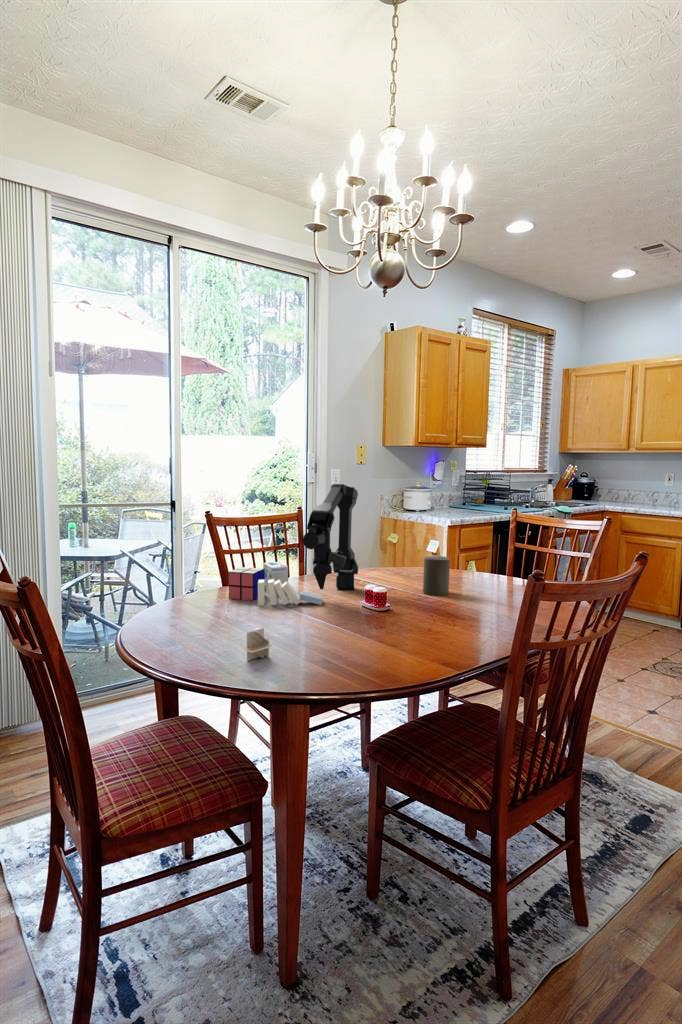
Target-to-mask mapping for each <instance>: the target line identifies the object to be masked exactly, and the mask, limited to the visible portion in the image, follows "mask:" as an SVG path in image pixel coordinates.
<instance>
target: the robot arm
mask: <svg viewBox="0 0 682 1024" xmlns="http://www.w3.org/2000/svg"><path fill="white" fill-rule="evenodd" d="M358 495H359V494H358V490H357V489H356V488H355V487H354V486H349V485H346V484H344V483H334V484H331V486H330V490H329V491H328V493H327V495H326V497H325V498H324V500H323V502H322V503H321V504H319V505H316V506H315V507H314V508H313V509H312V511H311V512H310V515H309V517H308V518H309V519H308V522H307V526H306V530H308V531H307V532H306V533H305V534H304V535H303V538H302V544H303V546H304V547H305V548H306V549H307V550H313V558H312V572H313V573H312V574H314V577H315V580H316V583H317V584H318V587H319V590H324V589H325V583H326V579H327V575H331V574H332V573H334V574H337V575H336V576H335V579H336V580H335V587H336V588H337V590H338V591H354V590H355V589H356V588H355V575H358V574H359V565H358V563H357V559H356V556H355V555H356V554H355V552H354V551H353V548H352V544H351V543H352V519H353V518H352V515H353V514H352V512H353V511H352V510H353V508H355V506H356V504H357V499H358ZM336 508H338V509H339V510H338V511H339V512H338V513H339V519H338V521H339V523H338V547H337V549H336V551H332V548H331V531H332V527H333V525H334V521H335V514H334V512H335V510H336ZM331 564H332V565H331ZM332 568H333V569H332Z"/></svg>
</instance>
